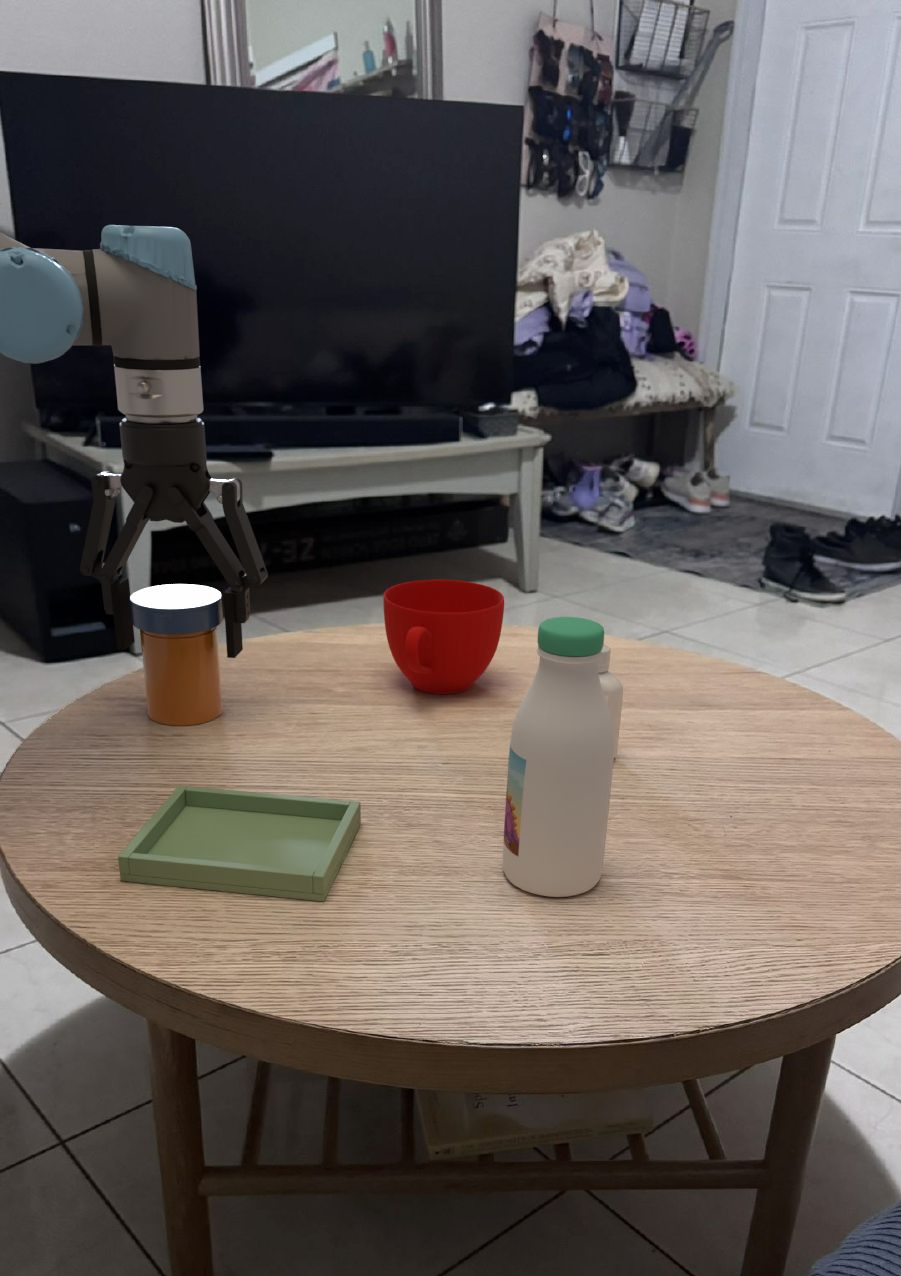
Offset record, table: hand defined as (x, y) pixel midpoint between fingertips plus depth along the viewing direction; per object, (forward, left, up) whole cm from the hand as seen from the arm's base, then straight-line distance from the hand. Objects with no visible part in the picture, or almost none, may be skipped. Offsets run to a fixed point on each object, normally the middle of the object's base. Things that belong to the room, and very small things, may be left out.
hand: (180, 649), depth 111 cm
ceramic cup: (+24, +12, -7) cm, 28 cm away
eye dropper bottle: (+41, -2, -7) cm, 42 cm away
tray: (+15, -27, -7) cm, 32 cm away
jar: (0, 0, -7) cm, 7 cm away
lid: (0, 0, +5) cm, 5 cm away
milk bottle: (+39, -26, -7) cm, 47 cm away
